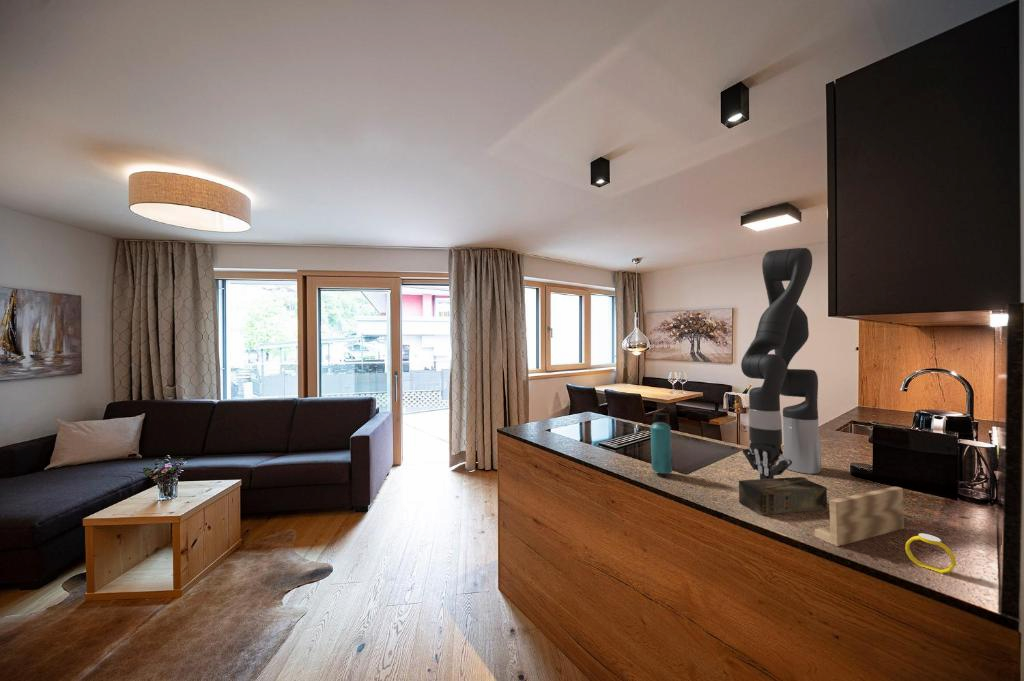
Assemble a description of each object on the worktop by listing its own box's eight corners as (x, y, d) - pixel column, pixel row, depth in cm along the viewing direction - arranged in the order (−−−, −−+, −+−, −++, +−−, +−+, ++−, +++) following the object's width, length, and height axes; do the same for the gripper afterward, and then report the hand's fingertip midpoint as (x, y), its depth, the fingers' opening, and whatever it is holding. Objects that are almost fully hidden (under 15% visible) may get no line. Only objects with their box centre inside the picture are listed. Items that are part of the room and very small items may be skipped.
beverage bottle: (675, 478, 113) (673, 415, 113) (653, 477, 114) (651, 414, 114) (670, 471, 119) (668, 411, 120) (649, 470, 120) (647, 411, 121)
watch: (955, 575, 65) (957, 543, 65) (953, 581, 63) (955, 548, 63) (906, 557, 70) (908, 527, 70) (903, 562, 68) (905, 531, 68)
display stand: (880, 519, 85) (878, 481, 85) (904, 528, 80) (902, 488, 81) (814, 536, 78) (813, 494, 78) (837, 546, 74) (835, 502, 74)
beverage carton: (830, 511, 90) (828, 484, 90) (761, 517, 87) (760, 490, 87) (800, 498, 98) (799, 473, 98) (736, 503, 95) (735, 478, 95)
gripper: (799, 429, 95) (802, 495, 94) (752, 419, 107) (754, 478, 107) (779, 432, 92) (781, 499, 92) (733, 421, 105) (735, 481, 105)
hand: (766, 487), depth 99 cm, fingers closed
